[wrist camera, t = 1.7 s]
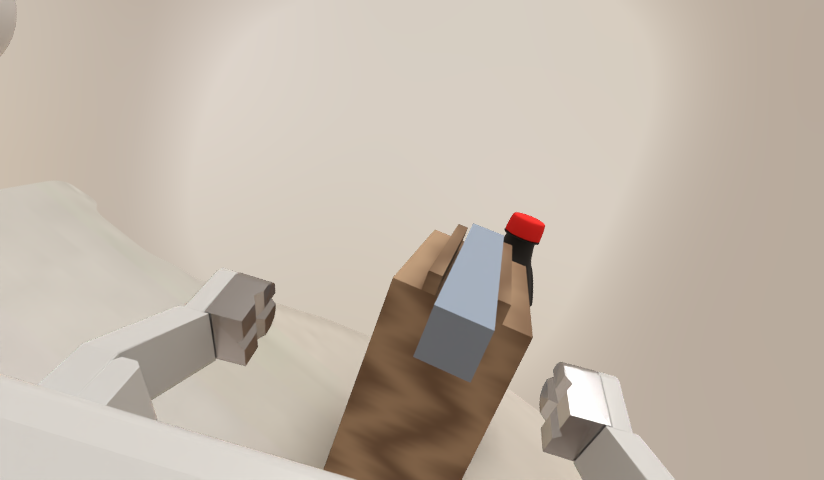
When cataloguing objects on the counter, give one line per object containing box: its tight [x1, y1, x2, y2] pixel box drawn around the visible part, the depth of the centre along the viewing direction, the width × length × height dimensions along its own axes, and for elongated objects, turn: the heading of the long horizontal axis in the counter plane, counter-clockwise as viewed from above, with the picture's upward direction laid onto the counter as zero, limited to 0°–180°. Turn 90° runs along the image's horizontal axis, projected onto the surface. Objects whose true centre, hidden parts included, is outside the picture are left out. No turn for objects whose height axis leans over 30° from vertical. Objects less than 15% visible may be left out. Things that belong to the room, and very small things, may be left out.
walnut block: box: [324, 224, 533, 480], centre depth 39 cm, size 10×16×28 cm, turn 166°
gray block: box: [413, 224, 504, 383], centre depth 29 cm, size 3×20×3 cm, turn 166°
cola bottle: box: [503, 212, 545, 306], centre depth 51 cm, size 8×8×30 cm
